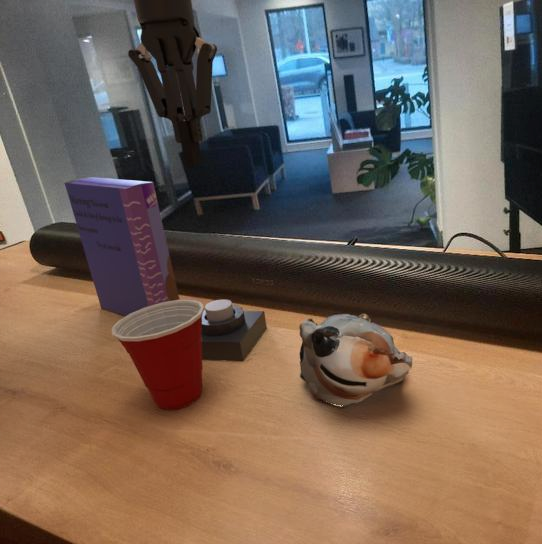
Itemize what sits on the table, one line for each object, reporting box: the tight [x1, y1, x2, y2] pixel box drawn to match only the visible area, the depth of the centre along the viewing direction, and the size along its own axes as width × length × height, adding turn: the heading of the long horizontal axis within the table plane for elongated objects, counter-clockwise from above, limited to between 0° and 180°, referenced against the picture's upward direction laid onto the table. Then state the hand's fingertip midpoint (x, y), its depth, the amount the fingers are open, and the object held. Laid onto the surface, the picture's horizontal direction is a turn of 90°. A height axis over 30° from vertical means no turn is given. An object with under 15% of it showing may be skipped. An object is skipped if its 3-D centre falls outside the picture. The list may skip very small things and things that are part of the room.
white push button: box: [204, 298, 234, 322], centre depth 75 cm, size 4×4×2 cm
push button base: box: [201, 304, 268, 362], centre depth 76 cm, size 12×10×5 cm
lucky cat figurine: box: [298, 312, 413, 407], centre depth 61 cm, size 15×12×14 cm
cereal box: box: [64, 176, 181, 317], centre depth 86 cm, size 17×5×24 cm, turn 58°
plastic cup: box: [110, 299, 205, 411], centre depth 62 cm, size 11×11×12 cm
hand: (194, 164), depth 77 cm, fingers closed
